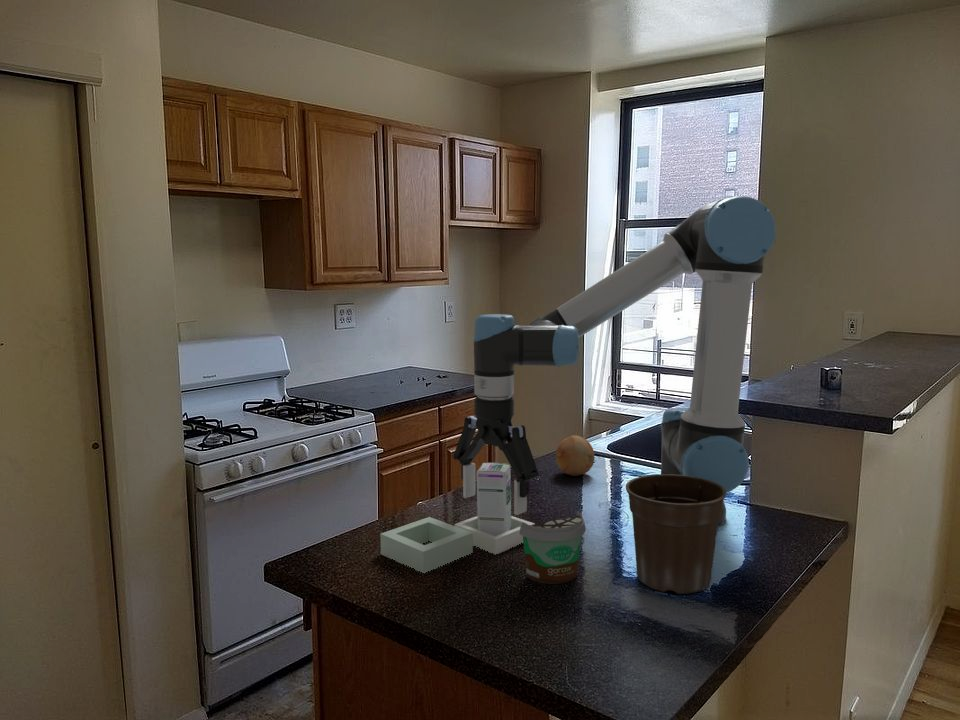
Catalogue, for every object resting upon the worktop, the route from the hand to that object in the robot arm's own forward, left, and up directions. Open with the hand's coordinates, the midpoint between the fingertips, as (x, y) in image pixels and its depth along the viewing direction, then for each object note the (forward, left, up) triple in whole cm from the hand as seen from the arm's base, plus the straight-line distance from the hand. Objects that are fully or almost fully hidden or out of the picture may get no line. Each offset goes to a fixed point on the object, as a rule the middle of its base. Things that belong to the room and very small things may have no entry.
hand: (494, 504), depth 141 cm
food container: (-20, +5, -7) cm, 22 cm away
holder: (0, 0, -7) cm, 7 cm away
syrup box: (0, 0, -7) cm, 7 cm away
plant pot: (-34, -8, -7) cm, 36 cm away
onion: (+14, -44, -7) cm, 47 cm away
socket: (+4, +14, -7) cm, 16 cm away
